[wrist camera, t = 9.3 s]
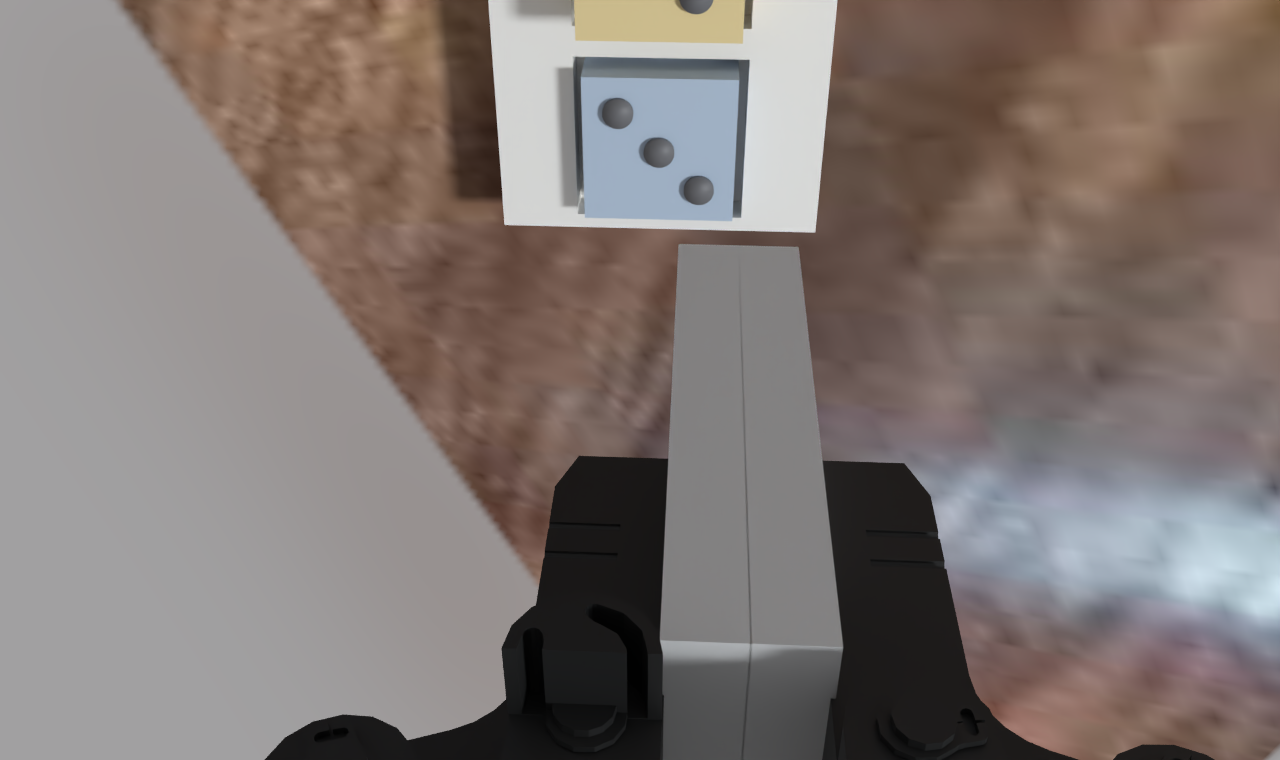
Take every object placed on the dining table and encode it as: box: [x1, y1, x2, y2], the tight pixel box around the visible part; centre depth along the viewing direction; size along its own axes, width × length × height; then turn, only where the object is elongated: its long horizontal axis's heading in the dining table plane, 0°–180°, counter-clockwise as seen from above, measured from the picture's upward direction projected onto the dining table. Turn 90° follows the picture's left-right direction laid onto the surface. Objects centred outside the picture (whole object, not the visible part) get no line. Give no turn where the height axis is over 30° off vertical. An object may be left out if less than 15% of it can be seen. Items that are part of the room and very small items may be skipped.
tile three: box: [581, 57, 739, 221], centre depth 49 cm, size 6×6×3 cm
